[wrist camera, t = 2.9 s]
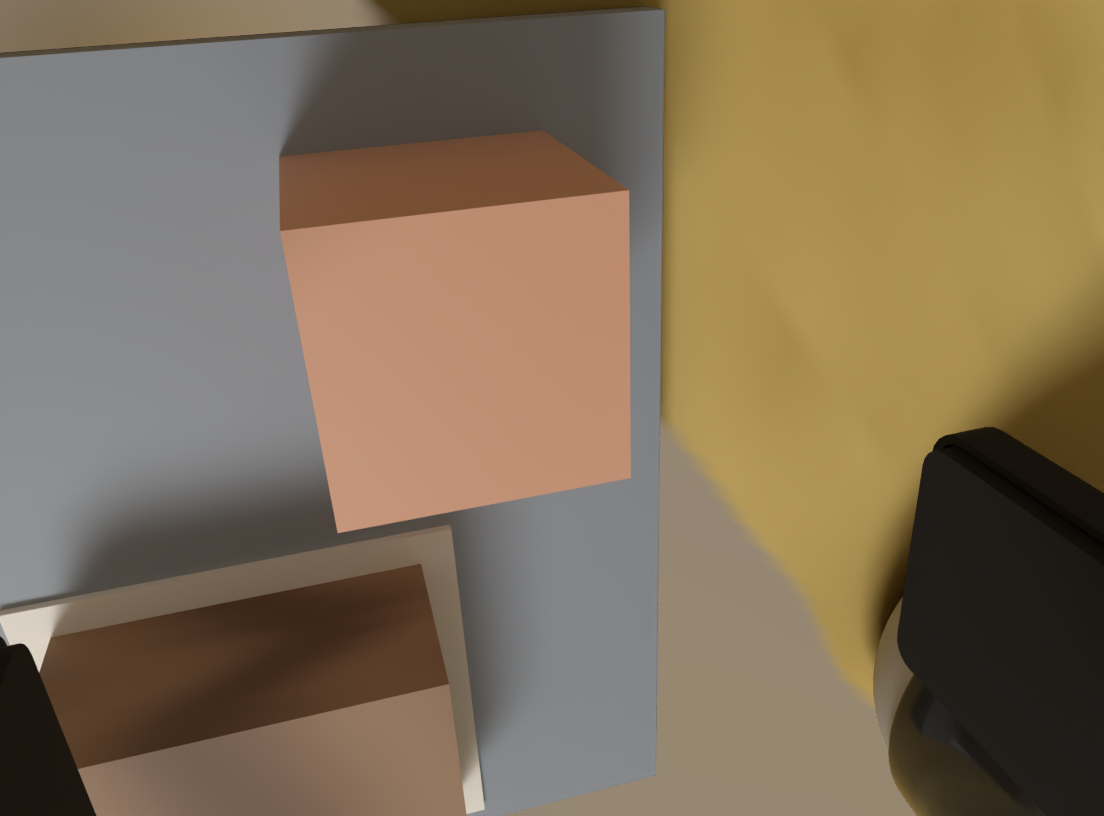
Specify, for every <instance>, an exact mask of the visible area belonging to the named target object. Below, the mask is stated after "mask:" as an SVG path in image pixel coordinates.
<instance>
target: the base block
mask: <svg viewBox="0 0 1104 816" xmlns="http://www.w3.org/2000/svg"><path fill="white" fill-rule="evenodd" d="M39 674H40V676H41V679H42V681H43V684H44V686H45V689H46V691H47V694H48V696H49V699H50V701H51V704H52V706H53V709H54V711H55V714H56V716H57V719H58V721H59V724H60V726H61V729H62V731H63V733H64V736H65V738H66V741H67V743H68V746H69V748H70V751H71V753H72V756H73V758H74V761H75V763H76V766H77V768H78V771H79V773H80V776H81V778H82V781H83V783H84V786H85V788H86V791H87V793H88V796H89V798H90V801H91V803H92V806H93V808H94V811H95V813H96V816H467V814H466V807H465V800H464V792H463V785H462V777H461V770H460V762H459V755H458V747H457V740H456V732H455V725H454V717H453V710H452V702H451V695H450V687H449V682H448V677H447V673H446V669H445V665H444V660H443V656H442V652H441V647H440V643H439V639H438V635H437V630H436V626H435V622H434V618H433V613H432V609H431V605H430V600H429V596H428V592H427V588H426V583H425V579H424V575H423V571H422V566H421V564H417V565H412V566H407V567H402V568H397V569H392V570H387V571H382V572H377V573H372V574H367V575H362V576H357V577H352V578H347V579H342V580H337V581H332V582H327V583H322V584H317V585H312V586H307V587H302V588H297V589H292V590H286V591H281V592H276V593H271V594H266V595H261V596H256V597H251V598H246V599H241V600H236V601H231V602H226V603H221V604H216V605H211V606H206V607H201V608H196V609H191V610H186V611H181V612H176V613H171V614H166V615H161V616H156V617H151V618H146V619H141V620H136V621H131V622H126V623H121V624H116V625H111V626H106V627H101V628H96V629H91V630H86V631H81V632H76V633H71V634H66V635H61V636H56V637H51V638H50V641H49V644H48V647H47V650H46V653H45V656H44V659H43V662H42V666H41V669H40V672H39Z"/></svg>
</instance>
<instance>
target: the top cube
mask: <svg viewBox="0 0 1104 816" xmlns="http://www.w3.org/2000/svg"><path fill="white" fill-rule="evenodd" d="M279 200H280V234H281V239H282V244H283V250H284V255H285V260H286V265H287V271H288V276H289V281H290V286H291V292H292V297H293V302H294V307H295V312H296V318H297V323H298V328H299V333H300V339H301V344H302V349H303V354H304V360H305V365H306V370H307V375H308V380H309V386H310V391H311V396H312V401H313V407H314V412H315V417H316V422H317V428H318V433H319V438H320V443H321V448H322V454H323V459H324V464H325V469H326V475H327V480H328V485H329V490H330V496H331V501H332V506H333V511H334V516H335V522H336V527H337V532H338V533H342V532H347V531H352V530H358V529H363V528H368V527H374V526H379V525H384V524H390V523H395V522H400V521H406V520H411V519H416V518H421V517H427V516H432V515H437V514H443V513H448V512H453V511H459V510H464V509H469V508H475V507H480V506H485V505H490V504H496V503H501V502H506V501H512V500H517V499H522V498H528V497H533V496H538V495H544V494H549V493H554V492H559V491H565V490H570V489H575V488H581V487H586V486H591V485H597V484H602V483H607V482H613V481H618V480H623V479H628V478H631V412H630V243H629V190H628V189H627V188H625V187H624V186H622V185H621V184H620V183H618V182H617V181H615V180H614V179H612V178H611V177H610V176H608V175H607V174H605V173H604V172H602V171H601V170H599V169H598V168H597V167H595V166H594V165H592V164H591V163H589V162H588V161H587V160H585V159H584V158H582V157H581V156H579V155H578V154H576V153H575V152H574V151H572V150H571V149H569V148H568V147H566V146H565V145H564V144H562V143H561V142H559V141H558V140H556V139H555V138H553V137H552V136H551V135H549V134H548V133H546V132H545V131H543V130H540V131H530V132H520V133H510V134H500V135H490V136H480V137H470V138H460V139H450V140H440V141H430V142H420V143H410V144H400V145H390V146H380V147H370V148H360V149H350V150H340V151H330V152H320V153H310V154H300V155H290V156H280V157H279Z"/></svg>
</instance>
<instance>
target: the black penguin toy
mask: <svg viewBox="0 0 1104 816" xmlns="http://www.w3.org/2000/svg"><path fill="white" fill-rule="evenodd" d="M902 599H903V597H902ZM902 599H901V600H900V601H899V603H898V604H897V606H896V607H895V609H894V611H893V612H892V614H891V616H890V618H889V620H888V622H887V624H886V626H885V629H884V631H883V633H882V636H881V639H880V642H879V645H878V649H877V654H876V658H875V666H874V675H873V692H874V701H875V708H876V713H877V718H878V722H879V726H880V729H881V732H882V735H883V738H884V741H885V743H886V746H887V748H888V754H889V765H890V769H891V773H892V777H893V779H894V782H895V784H896V786H897V788H898V790H899V792H900V793H901V795H902V796H903V798H904V799H905V801H906V802H907V803H908V805H909V806H910V808H911V809H912V810H913V812H914V813H915V814H916V815H917V816H1046V815H1045V814H1044V813H1043V812H1042V811H1041V810H1040V809H1039V808H1038V806H1037V805H1036V804H1035V803H1034V802H1033V801H1032V800H1031V799H1030V798H1029V797H1028V796H1027V795H1026V794H1025V793H1024V791H1023V790H1022V789H1021V788H1020V787H1019V786H1018V785H1017V784H1016V783H1015V782H1014V781H1013V780H1012V779H1011V778H1010V776H1009V775H1008V774H1007V773H1006V772H1005V771H1004V770H1003V769H1002V768H1001V767H1000V766H999V765H998V764H997V763H996V761H995V760H994V759H993V758H992V757H991V756H990V755H989V754H988V753H987V752H986V751H985V750H984V749H983V748H982V747H981V745H980V744H979V743H978V742H977V741H976V740H975V739H974V738H973V737H972V736H971V735H970V734H969V733H968V732H967V730H966V729H965V728H964V727H963V726H962V725H961V724H960V723H959V722H958V721H957V720H956V719H955V718H954V717H953V715H952V714H951V713H950V712H949V711H948V710H947V709H946V708H945V707H944V706H943V705H942V704H941V703H940V702H939V701H938V699H937V698H936V697H935V696H934V695H933V694H932V693H931V692H930V691H929V690H928V689H927V688H926V687H925V686H924V684H923V683H922V682H921V681H920V680H919V679H918V678H917V677H916V676H915V675H914V674H913V673H912V672H911V671H910V669H909V668H908V667H907V666H906V664H905V663H904V661H903V659H902V657H901V655H900V652H899V649H898V644H897V632H898V625H899V619H900V612H901V605H902Z"/></svg>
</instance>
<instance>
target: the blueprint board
mask: <svg viewBox="0 0 1104 816" xmlns="http://www.w3.org/2000/svg"><path fill="white" fill-rule="evenodd" d="M664 27H665V9H659V8H653V7H647V6H644V7H630V8H616V9H602V10H588V11H575V12H561V13H547V14H533V15H519V16H505V17H491V18H477V19H463V20H450V21H436V22H422V23H408V24H394V25H380V26H366V27H352V28H338V29H325V30H312V31H297V32H285V33H284V32H283V33H269V34H255V35H241V36H228V37H214V38H200V39H186V40H172V41H159V42H144V43H131V44H116V45H103V46H89V47H75V48H62V49H47V50H33V51H19V52H5V53H0V636H1V637H2V638H3V639H4V640H5V642H6V644H7V646H9V645H14V644H19V643H21V644H25V645H26V646H27V647H28V648H29V650H30V652H31V654H32V656H33V659H34V661H35V664H36V666H37V669H38V671H39V672H40V669H41V666H42V662H43V659H44V656H45V653H46V650H47V647H48V644H49V641H50V638H51V637H56V636H61V635H66V634H71V633H76V632H81V631H86V630H91V629H96V628H101V627H106V626H111V625H116V624H121V623H126V622H131V621H136V620H141V619H146V618H151V617H156V616H161V615H166V614H171V613H176V612H181V611H186V610H191V609H196V608H201V607H206V606H211V605H216V604H221V603H226V602H231V601H236V600H241V599H246V598H251V597H256V596H261V595H266V594H271V593H276V592H281V591H286V590H292V589H297V588H302V587H307V586H312V585H317V584H322V583H327V582H332V581H337V580H342V579H347V578H352V577H357V576H362V575H367V574H372V573H377V572H382V571H387V570H392V569H397V568H402V567H407V566H412V565H417V564H421V566H422V571H423V575H424V579H425V583H426V588H427V592H428V596H429V600H430V605H431V609H432V613H433V618H434V622H435V626H436V630H437V635H438V639H439V643H440V647H441V652H442V656H443V660H444V665H445V669H446V673H447V677H448V682H449V687H450V695H451V702H452V710H453V717H454V725H455V732H456V740H457V747H458V755H459V762H460V770H461V777H462V785H463V792H464V800H465V807H466V814H467V816H504V815H507V814H511V813H515V812H519V811H523V810H526V809H530V808H534V807H538V806H541V805H545V804H549V803H553V802H557V801H560V800H564V799H568V798H572V797H575V796H579V795H583V794H587V793H591V792H595V791H598V790H602V789H606V788H610V787H613V786H617V785H621V784H625V783H629V782H632V781H636V780H640V779H644V778H648V777H652V776H655V775H656V726H657V640H658V638H657V637H658V634H657V633H658V551H659V463H660V460H659V459H660V377H661V290H662V202H663V115H664ZM540 130H543V131H545V132H546V133H548V134H549V135H551V136H552V137H553V138H555V139H556V140H558V141H559V142H561V143H562V144H564V145H565V146H566V147H568V148H569V149H571V150H572V151H574V152H575V153H576V154H578V155H579V156H581V157H582V158H584V159H585V160H587V161H588V162H589V163H591V164H592V165H594V166H595V167H597V168H598V169H599V170H601V171H602V172H604V173H605V174H607V175H608V176H610V177H611V178H612V179H614V180H615V181H617V182H618V183H620V184H621V185H622V186H624V187H625V188H627V189H628V190H629V243H630V412H631V478H628V479H623V480H618V481H613V482H607V483H602V484H597V485H591V486H586V487H581V488H575V489H570V490H565V491H559V492H554V493H549V494H544V495H538V496H533V497H528V498H522V499H517V500H512V501H506V502H501V503H496V504H490V505H485V506H480V507H475V508H469V509H464V510H459V511H453V512H448V513H443V514H437V515H432V516H427V517H421V518H416V519H411V520H406V521H400V522H395V523H390V524H384V525H379V526H374V527H368V528H363V529H358V530H352V531H347V532H342V533H338V532H337V527H336V522H335V516H334V511H333V506H332V501H331V496H330V490H329V485H328V480H327V475H326V469H325V464H324V459H323V454H322V448H321V443H320V438H319V433H318V428H317V422H316V417H315V412H314V407H313V401H312V396H311V391H310V386H309V380H308V375H307V370H306V365H305V360H304V354H303V349H302V344H301V339H300V333H299V328H298V323H297V318H296V312H295V307H294V302H293V297H292V292H291V286H290V281H289V276H288V271H287V265H286V260H285V255H284V250H283V244H282V239H281V234H280V200H279V157H280V156H290V155H300V154H310V153H320V152H330V151H340V150H350V149H360V148H370V147H380V146H390V145H400V144H410V143H420V142H430V141H440V140H450V139H460V138H470V137H480V136H490V135H500V134H510V133H520V132H530V131H540Z"/></svg>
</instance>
